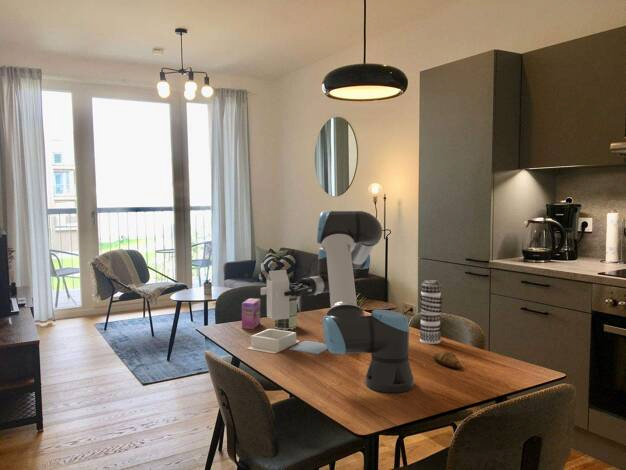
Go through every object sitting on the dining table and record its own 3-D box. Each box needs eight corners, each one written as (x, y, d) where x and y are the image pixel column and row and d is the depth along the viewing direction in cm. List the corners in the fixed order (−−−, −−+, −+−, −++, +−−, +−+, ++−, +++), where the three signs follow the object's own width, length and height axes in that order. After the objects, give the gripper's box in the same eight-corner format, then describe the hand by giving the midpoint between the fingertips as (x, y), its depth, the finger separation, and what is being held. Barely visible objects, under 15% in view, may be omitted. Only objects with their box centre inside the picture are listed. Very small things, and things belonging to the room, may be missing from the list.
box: (253, 329, 236) (253, 303, 235) (241, 328, 237) (241, 302, 236) (260, 323, 246) (260, 298, 245) (249, 323, 247) (248, 298, 246)
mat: (318, 354, 198) (318, 353, 198) (288, 349, 205) (288, 348, 205) (333, 345, 210) (333, 345, 210) (305, 341, 216) (305, 340, 216)
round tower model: (414, 340, 217) (414, 280, 215) (427, 336, 223) (428, 278, 221) (432, 345, 210) (433, 283, 208) (446, 341, 217) (447, 280, 215)
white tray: (274, 353, 199) (274, 342, 199) (246, 349, 206) (246, 337, 205) (300, 341, 216) (299, 330, 216) (273, 337, 222) (273, 326, 222)
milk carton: (289, 318, 208) (289, 271, 206) (272, 320, 205) (271, 272, 203) (283, 315, 214) (283, 268, 213) (266, 316, 212) (266, 269, 210)
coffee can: (277, 330, 233) (277, 299, 232) (272, 325, 243) (272, 295, 242) (300, 328, 236) (300, 297, 235) (294, 323, 246) (293, 293, 245)
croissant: (467, 369, 183) (467, 354, 182) (451, 371, 180) (452, 357, 179) (442, 358, 195) (442, 344, 194) (427, 360, 192) (427, 346, 192)
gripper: (329, 298, 214) (287, 306, 198) (293, 291, 229) (252, 298, 214) (329, 280, 213) (287, 287, 197) (293, 274, 229) (251, 280, 213)
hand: (269, 293), depth 206 cm, fingers closed on milk carton, 9 cm apart
